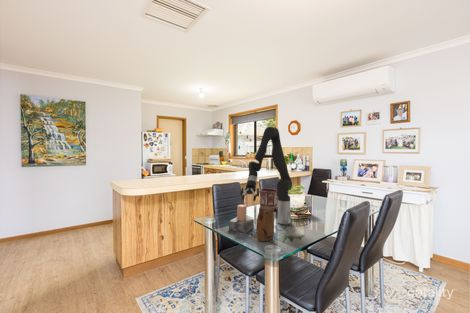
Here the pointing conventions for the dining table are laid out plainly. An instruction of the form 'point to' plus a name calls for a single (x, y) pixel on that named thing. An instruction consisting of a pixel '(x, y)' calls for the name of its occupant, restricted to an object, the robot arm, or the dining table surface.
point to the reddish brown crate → (269, 198)
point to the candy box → (308, 202)
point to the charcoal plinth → (241, 225)
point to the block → (265, 223)
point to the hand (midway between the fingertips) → (248, 200)
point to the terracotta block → (241, 212)
